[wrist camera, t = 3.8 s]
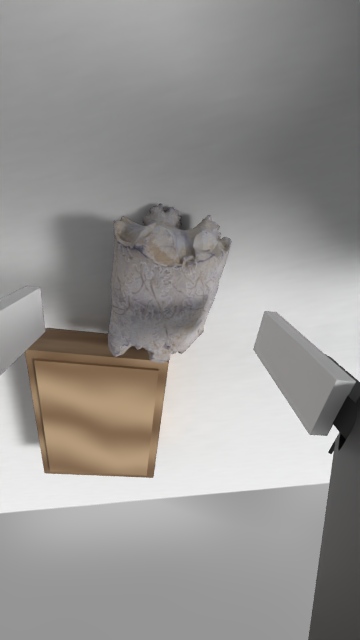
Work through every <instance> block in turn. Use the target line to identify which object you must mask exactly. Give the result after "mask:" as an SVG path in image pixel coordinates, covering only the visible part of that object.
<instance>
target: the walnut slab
mask: <svg viewBox="0 0 360 640" xmlns="http://www.w3.org/2000/svg"><path fill="white" fill-rule="evenodd" d="M25 354H26V361H27V367H28V373H29V379H30V386H31V392H32V398H33V404H34V410H35V417H36V423H37V429H38V435H39V441H40V448H41V454H42V460H43V466H44V472H45V473H51V474H76V475H100V476H125V477H149V478H153V476H154V469H155V461H156V454H157V446H158V439H159V431H160V424H161V416H162V408H163V401H164V393H165V386H166V378H167V371H168V363H169V360H168V361H166V362H165V363H156V362H153V361H150V358H149V353H148V351H147V350H145V349H144V348H140V349H138V350H137V349H136V348H135V346H131V347H130V348H128V349H127V351H126V352H125V353H124V354H122V355H119V356H116V357H114V355H113V354H112V353H111V351H110V350H109V347H108V334H104V333H93V332H83V331H72V330H62V329H51V328H47V329H46V330H45V332H44V333H43V334H42V335H41V336H40V337H39V338H38V339H37V340H36V341H35V342H34V343H33V344H32V345H31V346H30V347H29V348H28V349H27V350H26V351H25Z"/></svg>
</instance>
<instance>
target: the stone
mask: <svg viewBox="0 0 360 640" xmlns="http://www.w3.org/2000/svg"><path fill="white" fill-rule="evenodd" d="M180 220H181V217H180V216H178V211H177V210H176V209H174V208H173V207H169V208H168V210H167V211H164V210H163V206H162V204H159V206H154V207H153V208H152V209H150V214H149V215H146V216H145V217H144V220H143V223H144V226H143V225H140V224H137V223H135V222H133V221H131V220H129V219H128V218H126V217H125V216H123V217H122V218H121V221H114V261H113V269H112V277H111V301H112V309H111V318H110V323H109V330H108V347H109V350H110V351H111V353H112V354H113V355H114V357H116V356H119V355H122V354H124V353H125V352H126V351H127V349H128V348H130V347H131V346H135V348H136V349H137V350H138V349H140V348H144V349H145V350H147V351H148V353H149V358H150V361H153V362H156V363H165V362H166V361H168V360H170V354H174V353H176V352H179V353H181V354H182V353H183V352H184V351H186V349H187V348H189V347H190V345H191V344H192V343H193V342H194V341H195V340H196V339H197V337H199V336H200V335H201V334H202V332H203V331H204V324H205V321H206V318H207V316H208V313H209V310H210V308H211V306H212V303H213V301H214V299H215V296H216V293H217V289H218V285H219V279H220V277H221V274H222V271H223V268H224V265H225V263H226V259H227V256H228V253H229V249H230V245H231V240H230V239H229V238H227V237H223V238H222V239H220V235H221V233H220V232H219V231H218V229H219V227H220V226H219V225H218V224H216V223H215V222H213V221H211V217H210V215H208V216H207V217H206V218H205V219H203V220H202V222H201V223H200V224H199V225H197V226H196V227H195V228H193V229H189V230H180V227H181V225H182V224H180V223H179V221H180Z"/></svg>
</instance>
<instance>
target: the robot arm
mask: <svg viewBox="0 0 360 640" xmlns="http://www.w3.org/2000/svg"><path fill="white" fill-rule="evenodd" d="M44 332H45V324H44V315H43V306H42V297H41V288H39V287H30V286H25V287H23V288H21V289H19V290H17V291H15V292H13V293H11V294H9V295H7V296H5V297H3V298H2V299H0V375H1V374H2V373H3V372H4V371H5V370H6V369H7V368H8V367H10V366H11V365H12V364H13V363H14V362H15V361H16V360H17V359H18V358H19V357H20V356H21V355H22V354H23V353H24V352H25V351H26V350H27V349H28V348H29V347H30V346H31V345H32V344H33V343H34V342H35V341H36V340H37V339H38V338H39V337H40V336H41V335H42V334H43V333H44ZM253 350H254V351H255V353H256V354H257V356H258V357H259V359H260V360H261V362H262V363H263V365H264V366H265V368H266V369H267V371H268V372H269V374H270V375H271V377H272V379H273V380H274V382H275V383H276V385H277V386H278V388H279V389H280V391H281V392H282V394H283V395H284V397H285V398H286V400H287V401H288V403H289V404H290V406H291V407H292V409H293V410H294V412H295V413H296V415H297V416H298V418H299V419H300V421H301V422H302V424H303V426H304V427H305V429H306V430H307V432H308V433H309V435H324V436H327V435H328V433H329V431H330V429H331V427H332V425H333V424H334V426H335V427H336V428H337V429H338V431H339V434H338V436H337V438H336V439H335V441H334V443H333V445H332V447H331V448H330V450H329V452H328V453H330V454H332V453H333V451H334V455H333V462H332V470H331V477H330V485H329V492H328V499H327V506H326V514H325V522H324V528H323V536H322V544H321V551H320V558H319V565H318V573H317V580H316V588H315V595H314V602H313V610H312V617H311V625H310V632H309V639H308V640H360V382H359V381H358V380H357V379H355V378H354V377H353V376H352V375H351V374H350V373H348V372H347V371H345V369H344V368H343V367H341V366H339V364H338V363H337V362H336V361H334V360H333V359H332V358H331V357H329V356H327V355H325V354H324V353H323V352H322V351H320V350H319V349H318V348H317V347H316V346H315V345H314V344H312V343H311V342H310V341H309V340H308V339H307V338H306V337H304V336H303V335H302V334H301V333H300V332H299V331H297V330H296V329H295V328H294V327H293V326H292V325H291V324H289V323H288V322H287V321H286V320H285V319H284V318H283V317H281V316H280V315H279V314H278V313H277V312H270V311H265V312H264V315H263V318H262V322H261V325H260V328H259V332H258V335H257V338H256V342H255V345H254V349H253Z"/></svg>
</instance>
